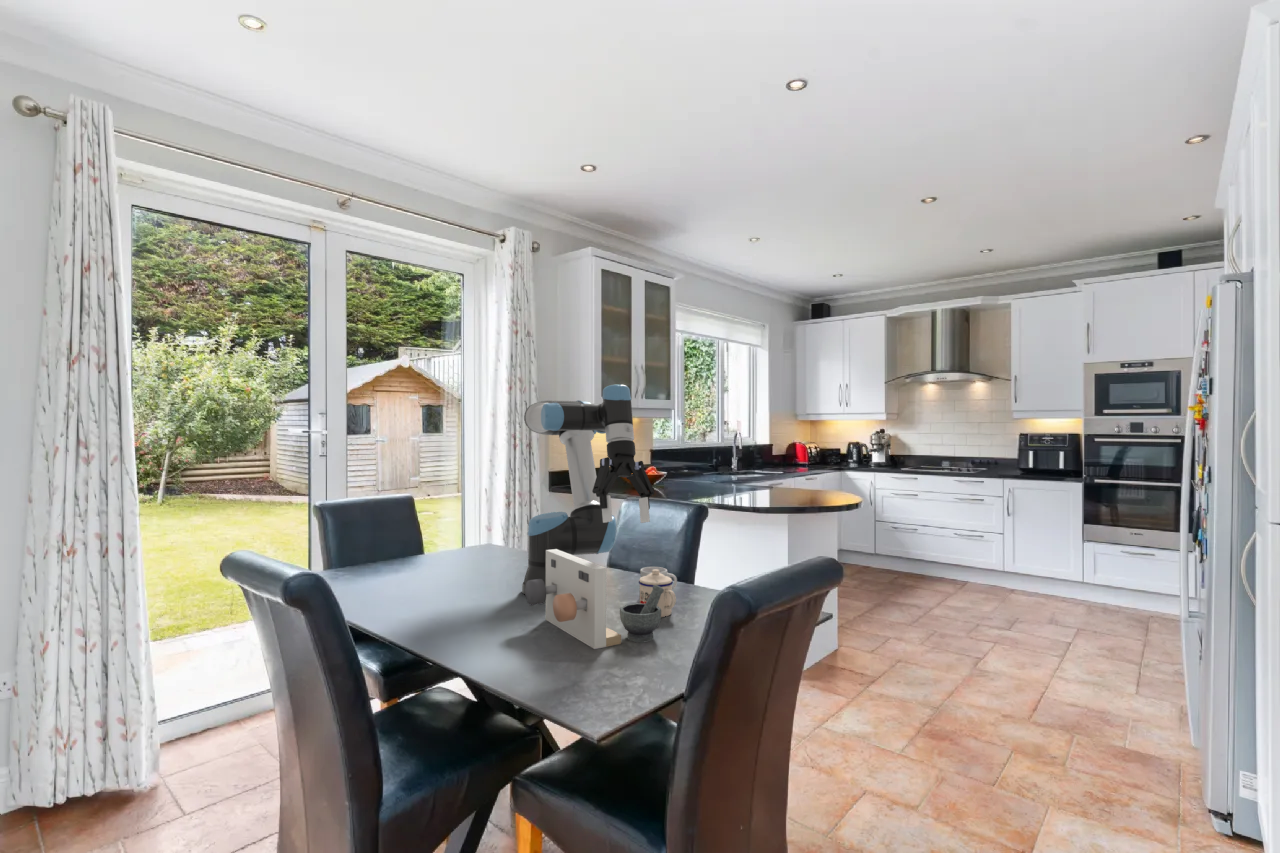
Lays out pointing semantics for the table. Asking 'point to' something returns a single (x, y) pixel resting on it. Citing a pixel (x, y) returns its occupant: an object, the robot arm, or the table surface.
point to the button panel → (580, 597)
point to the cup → (663, 571)
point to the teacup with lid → (666, 597)
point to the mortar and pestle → (642, 617)
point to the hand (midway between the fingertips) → (627, 522)
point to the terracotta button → (567, 607)
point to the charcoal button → (538, 591)
